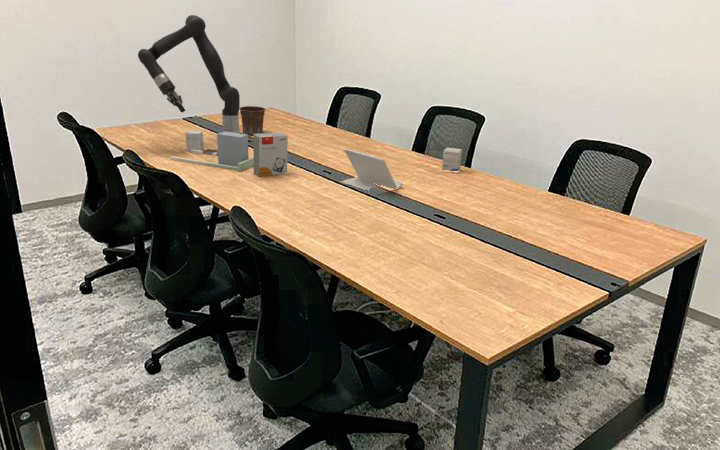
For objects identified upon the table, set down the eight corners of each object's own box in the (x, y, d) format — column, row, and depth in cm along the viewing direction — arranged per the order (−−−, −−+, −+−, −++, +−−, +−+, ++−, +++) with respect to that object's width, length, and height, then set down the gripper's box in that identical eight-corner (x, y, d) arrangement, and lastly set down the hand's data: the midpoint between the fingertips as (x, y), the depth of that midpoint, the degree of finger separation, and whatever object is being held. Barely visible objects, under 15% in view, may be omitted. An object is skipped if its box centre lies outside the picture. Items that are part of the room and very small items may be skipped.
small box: (203, 149, 331) (202, 131, 327) (200, 152, 326) (199, 133, 322) (190, 148, 331) (189, 130, 328) (186, 151, 326) (185, 132, 322)
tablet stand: (377, 196, 268) (380, 160, 262) (339, 183, 284) (340, 149, 278) (403, 188, 280) (405, 153, 274) (365, 176, 296) (366, 143, 290)
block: (226, 161, 311) (224, 131, 305) (248, 164, 306) (247, 134, 300) (218, 164, 305) (217, 133, 299) (241, 167, 300) (240, 137, 294)
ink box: (460, 170, 314) (462, 148, 310) (457, 174, 307) (459, 152, 302) (444, 167, 317) (446, 146, 312) (441, 171, 309) (443, 150, 305)
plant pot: (271, 133, 375) (270, 108, 369) (254, 137, 363) (253, 111, 357) (252, 129, 383) (251, 105, 377) (234, 133, 370) (233, 108, 365)
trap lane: (199, 149, 330) (198, 142, 329) (266, 160, 316) (266, 153, 314) (169, 160, 308) (169, 152, 306) (240, 171, 293) (239, 164, 292)
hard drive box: (258, 177, 287) (257, 137, 279) (253, 172, 293) (252, 133, 286) (287, 174, 293) (287, 135, 286) (282, 170, 300) (282, 131, 292)
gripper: (163, 80, 302) (183, 108, 304) (175, 79, 314) (194, 107, 317) (153, 88, 304) (172, 116, 306) (164, 87, 316) (183, 114, 319)
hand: (183, 111), depth 311 cm, fingers closed
